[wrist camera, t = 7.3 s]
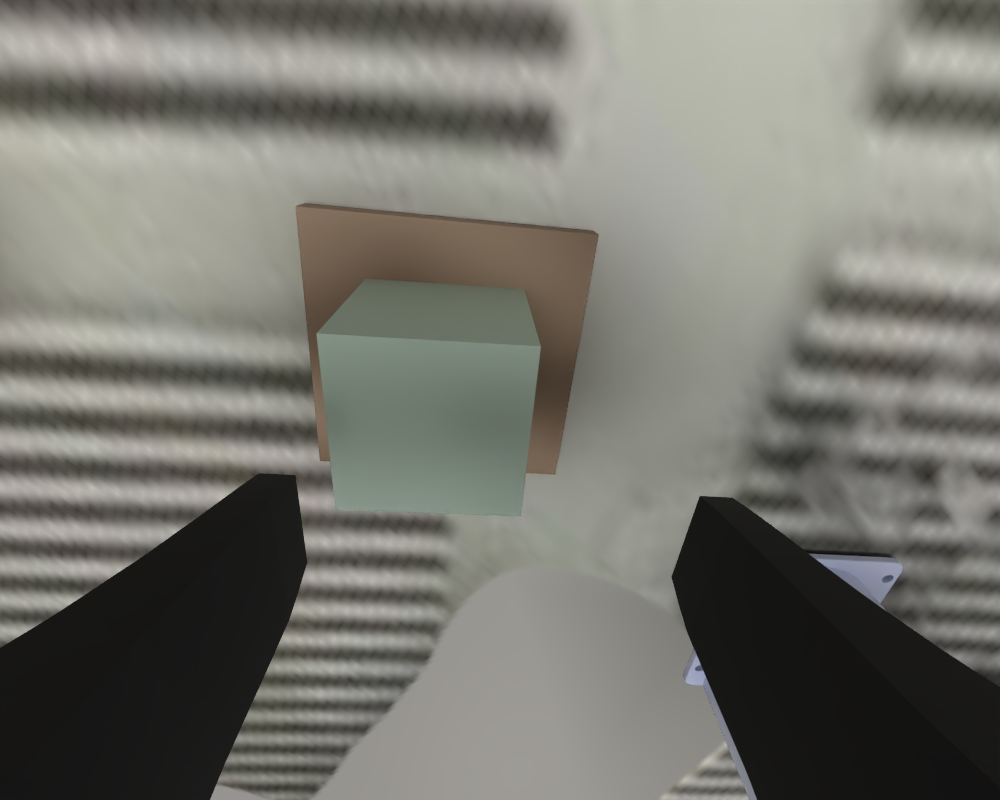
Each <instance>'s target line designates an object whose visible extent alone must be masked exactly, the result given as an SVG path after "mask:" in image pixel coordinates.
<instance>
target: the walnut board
mask: <svg viewBox="0 0 1000 800" xmlns="http://www.w3.org/2000/svg"><path fill="white" fill-rule="evenodd" d="M296 215H297V225H298V236H299V246H300V257H301V267H302V277H303V288H304V298H305V309H306V319H307V329H308V340H309V350H310V361H311V371H312V381H313V392H314V402H315V413H316V423H317V434H318V444H319V454H320V461H330V454H329V444H328V435H327V426H326V417H325V408H324V399H323V389H322V380H321V371H320V362H319V353H318V344H317V334H316V333H317V332H318V331H319V330H320V329H321V328H322V327H323V326H324V324H325V323H326V322H327V321H328V320H329V319H330V318H331V317H332V316H333V314H334V313H335V312H336V311H337V310H338V309H339V308H340V307H341V305H342V304H343V303H344V302H345V301H346V300H347V299H348V298H349V297H350V295H351V294H352V293H353V292H354V291H355V290H356V289H357V288H358V286H359V285H360V284H361V283H362V282H363V281H364V280H365V279H378V280H393V281H408V282H424V283H439V284H454V285H470V286H485V287H500V288H516V289H524V290H525V293H526V297H527V300H528V304H529V307H530V311H531V314H532V317H533V321H534V324H535V328H536V331H537V335H538V338H539V342H540V345H541V350H540V358H539V367H538V375H537V383H536V392H535V400H534V408H533V416H532V425H531V433H530V441H529V450H528V458H527V466H526V473H538V474H555V473H556V468H557V462H558V457H559V451H560V445H561V440H562V434H563V429H564V423H565V418H566V412H567V407H568V401H569V396H570V390H571V385H572V379H573V373H574V368H575V362H576V357H577V351H578V346H579V340H580V335H581V329H582V324H583V318H584V313H585V307H586V302H587V296H588V290H589V285H590V279H591V274H592V268H593V263H594V257H595V252H596V246H597V241H598V234H597V233H595V232H594V231H589V230H578V229H568V228H557V227H547V226H536V225H526V224H515V223H505V222H494V221H484V220H473V219H463V218H452V217H442V216H431V215H421V214H410V213H399V212H389V211H378V210H368V209H357V208H347V207H336V206H326V205H315V204H301V205H298V206H296Z"/></svg>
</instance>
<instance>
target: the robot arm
mask: <svg viewBox="0 0 1000 800" xmlns="http://www.w3.org/2000/svg"><path fill="white" fill-rule="evenodd" d="M306 564H307V558H306V550H305V543H304V536H303V528H302V521H301V513H300V506H299V499H298V491H297V484H296V476H295V475H279V474H260V473H259V474H258V475H256V476H255V477H253V478H252V479H250V480H249V481H247V482H246V483H244V484H243V485H242V486H240V487H239V488H237V489H236V490H235V491H233V492H232V493H231V494H229V495H228V496H226V497H225V498H224V499H222V500H221V501H220V502H218V503H217V504H215V505H214V506H213V507H211V508H210V509H209V510H207V511H206V512H205V513H203V514H202V515H200V516H199V517H198V518H196V519H195V520H194V521H192V522H191V523H189V524H188V525H187V526H185V527H184V528H182V529H181V530H180V531H178V532H177V533H175V534H174V535H172V536H171V537H170V538H168V539H167V540H165V541H164V542H163V543H161V544H160V545H158V546H157V547H156V548H154V549H153V550H151V551H150V552H149V553H147V554H146V555H144V556H143V557H141V558H140V559H139V560H137V561H136V562H134V563H133V564H131V565H130V566H128V567H126V568H125V569H123V570H122V571H120V572H119V573H117V574H116V575H114V576H113V577H111V578H110V579H108V580H107V581H105V582H104V583H102V584H101V585H99V586H98V587H96V588H95V589H93V590H92V591H90V592H89V593H87V594H86V595H84V596H83V597H81V598H80V599H78V600H77V601H75V602H74V603H72V604H71V605H69V606H67V607H66V608H64V609H63V610H61V611H60V612H58V613H57V614H55V615H53V616H52V617H50V618H49V619H47V620H45V621H44V622H42V623H41V624H39V625H37V626H36V627H34V628H33V629H31V630H29V631H28V632H26V633H24V634H23V635H21V636H19V637H18V638H16V639H14V640H13V641H11V642H9V643H8V644H6V645H4V646H3V647H1V648H0V800H210V798H211V795H212V793H213V791H214V788H215V786H216V784H217V781H218V779H219V776H220V774H221V771H222V769H223V766H224V764H225V762H226V760H227V757H228V755H229V753H230V751H231V748H232V746H233V744H234V742H235V740H236V737H237V735H238V733H239V731H240V728H241V726H242V724H243V722H244V720H245V717H246V715H247V713H248V711H249V709H250V706H251V704H252V702H253V700H254V697H255V695H256V693H257V691H258V689H259V686H260V684H261V682H262V680H263V677H264V675H265V673H266V671H267V669H268V666H269V664H270V662H271V660H272V657H273V655H274V653H275V651H276V648H277V646H278V644H279V642H280V639H281V637H282V635H283V633H284V630H285V628H286V626H287V623H288V621H289V619H290V616H291V613H292V609H293V606H294V603H295V600H296V597H297V594H298V591H299V588H300V584H301V581H302V578H303V574H304V571H305V568H306ZM902 570H903V565H902V564H901V563H900V562H899V561H898V560H897V559H896V558H889V557H868V556H847V555H826V554H808V553H807V552H806V551H804V550H803V549H802V548H800V547H799V546H798V545H797V544H795V543H794V542H793V541H791V540H790V539H789V538H787V537H786V536H785V535H783V534H782V533H781V532H779V531H778V530H777V529H775V528H774V527H773V526H771V525H770V524H769V523H767V522H766V521H765V520H763V519H762V518H761V517H759V516H758V515H757V514H755V513H754V512H752V511H751V510H750V509H748V508H747V507H745V506H744V505H742V504H741V503H739V502H738V501H736V500H735V499H733V498H727V497H707V496H700V497H699V500H698V503H697V506H696V509H695V512H694V514H693V517H692V520H691V523H690V526H689V529H688V532H687V534H686V537H685V540H684V543H683V546H682V549H681V552H680V554H679V557H678V560H677V563H676V566H675V569H674V572H673V574H672V580H673V584H674V588H675V591H676V595H677V599H678V603H679V606H680V610H681V613H682V616H683V620H684V623H685V626H686V630H687V632H688V635H689V637H690V640H691V642H692V645H693V647H694V650H693V652H692V655H691V657H690V659H689V661H688V664H687V666H686V668H685V671H684V673H683V677H684V680H685V682H686V683H687V684H689V685H703V687H704V689H705V692H706V694H707V697H708V699H709V702H710V704H711V706H712V709H713V711H714V714H715V716H716V718H717V721H718V724H719V726H720V729H721V731H722V734H723V736H724V738H725V741H726V743H727V746H728V748H729V751H730V753H731V756H732V758H733V760H734V763H735V765H736V768H737V770H738V773H739V775H740V778H741V780H742V782H743V785H744V787H745V790H746V792H747V795H748V797H749V800H1000V687H999V686H997V685H996V684H994V683H993V682H991V681H989V680H988V679H986V678H985V677H983V676H981V675H980V674H978V673H977V672H975V671H973V670H972V669H970V668H969V667H967V666H966V665H964V664H963V663H961V662H960V661H958V660H957V659H955V658H954V657H952V656H951V655H949V654H948V653H946V652H945V651H943V650H942V649H940V648H939V647H937V646H936V645H934V644H933V643H931V642H930V641H929V640H927V639H926V638H924V637H923V636H921V635H920V634H918V633H917V632H916V631H914V630H913V629H911V628H910V627H908V626H907V625H905V624H904V623H903V622H901V621H900V620H898V619H897V618H895V617H894V616H892V615H891V614H890V613H888V612H887V611H886V610H885V608H884V607H883V606H882V605H881V604H880V603H881V602H882V600H883V599H884V597H885V596H886V594H887V593H888V591H889V590H890V588H891V587H892V586H893V584H894V583H895V581H896V580H897V578H898V577H899V575H900V574H901V572H902Z"/></svg>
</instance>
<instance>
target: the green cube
mask: <svg viewBox="0 0 1000 800" xmlns="http://www.w3.org/2000/svg"><path fill="white" fill-rule="evenodd" d="M316 334H317V344H318V353H319V362H320V371H321V380H322V389H323V399H324V408H325V417H326V426H327V435H328V444H329V454H330V463H331V472H332V481H333V490H334V499H335V509H336V510H359V511H386V512H414V513H442V514H470V515H498V516H521V508H522V499H523V491H524V483H525V474H526V466H527V458H528V450H529V441H530V433H531V425H532V416H533V408H534V400H535V392H536V383H537V375H538V367H539V358H540V350H541V345H540V342H539V338H538V335H537V331H536V328H535V324H534V321H533V317H532V314H531V311H530V307H529V304H528V300H527V297H526V293H525V290H524V289H516V288H500V287H485V286H470V285H454V284H439V283H424V282H408V281H393V280H378V279H365V280H364V281H363V282H362V283H361V284H360V285H359V286H358V288H357V289H356V290H355V291H354V292H353V293H352V294H351V295H350V297H349V298H348V299H347V300H346V301H345V302H344V303H343V304H342V305H341V307H340V308H339V309H338V310H337V311H336V312H335V313H334V314H333V316H332V317H331V318H330V319H329V320H328V321H327V322H326V323H325V324H324V326H323V327H322V328H321V329H320V330H319V331H318V332H317V333H316Z"/></svg>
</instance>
